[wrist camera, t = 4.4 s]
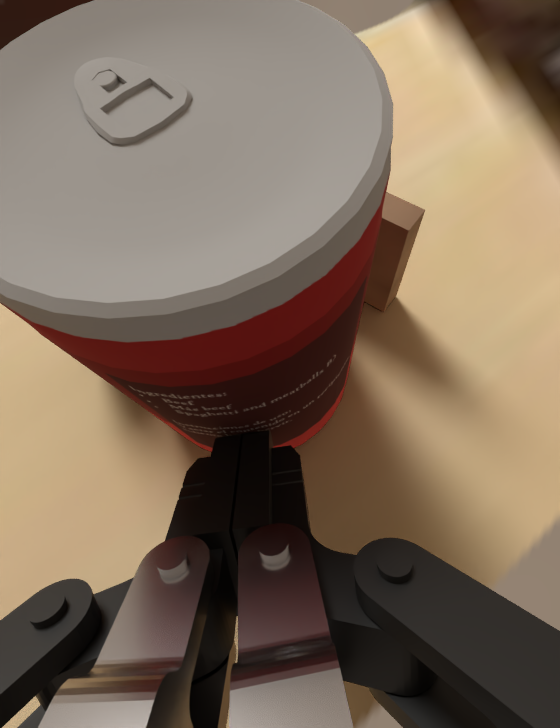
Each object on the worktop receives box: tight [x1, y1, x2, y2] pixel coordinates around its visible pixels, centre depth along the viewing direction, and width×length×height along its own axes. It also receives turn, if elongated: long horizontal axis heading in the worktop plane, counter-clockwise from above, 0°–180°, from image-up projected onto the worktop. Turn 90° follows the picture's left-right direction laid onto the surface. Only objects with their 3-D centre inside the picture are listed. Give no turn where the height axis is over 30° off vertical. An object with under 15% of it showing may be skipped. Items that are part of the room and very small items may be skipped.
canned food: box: [0, 0, 393, 452], centre depth 11 cm, size 8×8×11 cm
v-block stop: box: [364, 192, 425, 312], centre depth 16 cm, size 13×7×5 cm, turn 98°
